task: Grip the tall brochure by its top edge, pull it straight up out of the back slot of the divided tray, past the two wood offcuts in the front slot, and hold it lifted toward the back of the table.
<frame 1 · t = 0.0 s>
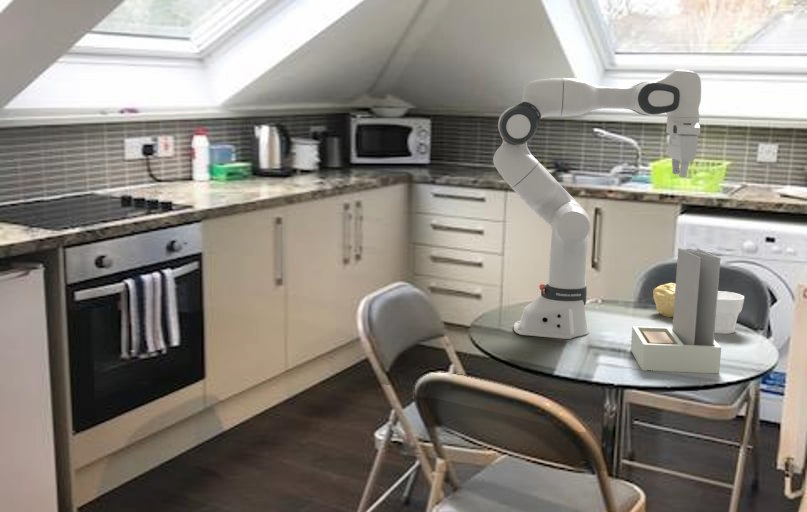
hand: (679, 175, 252), 48 cm above the table, fingers open, 8 cm apart
yellow rounded lump: (672, 315, 284), on the table
divided tray: (673, 361, 234), on the table
brochure: (690, 362, 234), resting in divided tray
offcut top: (657, 349, 234), point 3 cm above the table, touching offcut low
cup: (720, 330, 267), on the table
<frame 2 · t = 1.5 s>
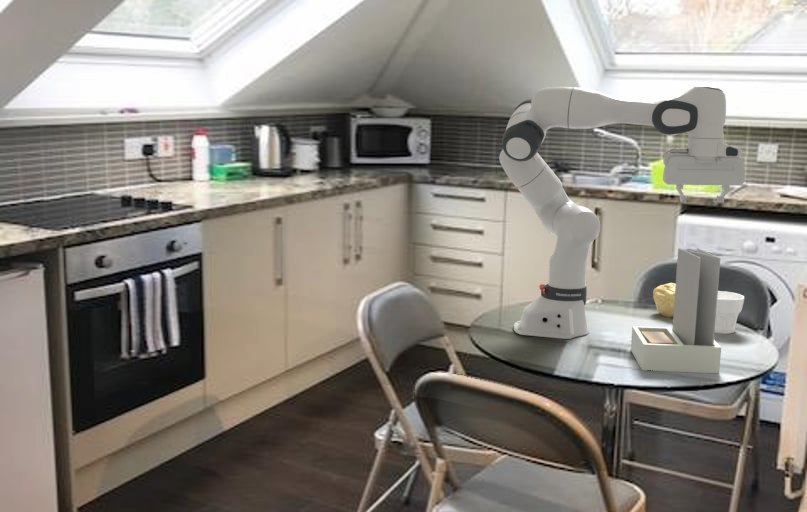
hand: (701, 202, 227), 43 cm above the table, fingers open, 8 cm apart
offcut top: (656, 349, 234), point 3 cm above the table
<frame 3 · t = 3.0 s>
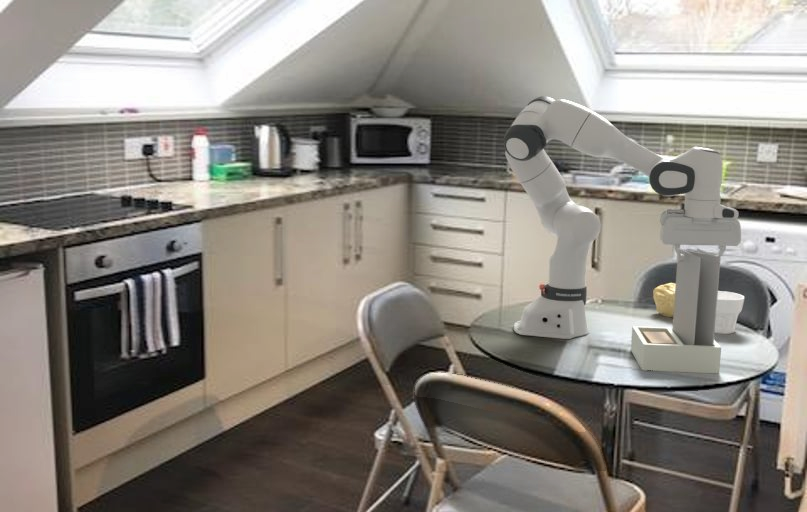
hand: (698, 261, 229), 28 cm above the table, fingers open, 8 cm apart
offcut top: (657, 349, 234), point 3 cm above the table, touching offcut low
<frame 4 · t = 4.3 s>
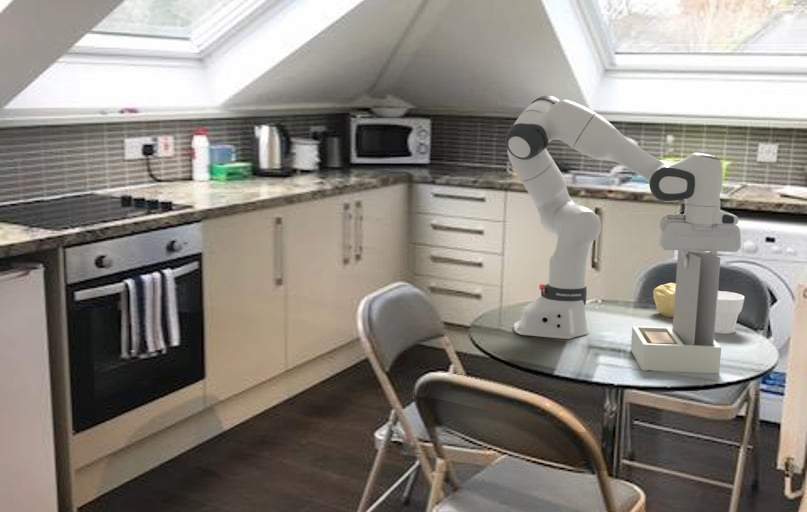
hand: (697, 267, 229), 26 cm above the table, fingers closed on brochure, 4 cm apart
brochure: (690, 362, 234), resting in divided tray, touching gripper
everything else where it was.
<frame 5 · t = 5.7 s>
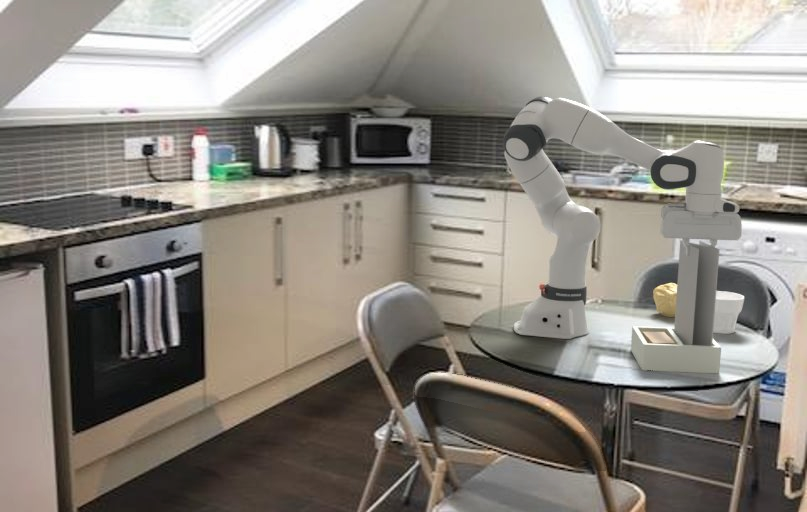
hand: (698, 255, 229), 29 cm above the table, fingers closed on brochure, 3 cm apart
brochure: (691, 355, 234), point 2 cm above the table, touching gripper
everything else where it was.
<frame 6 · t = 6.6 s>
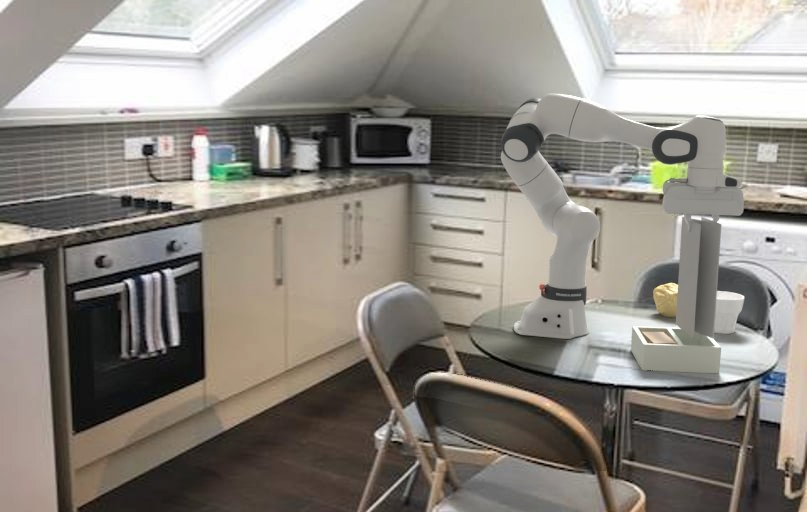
hand: (700, 231, 227), 36 cm above the table, fingers closed on brochure, 3 cm apart
brochure: (694, 331, 232), point 8 cm above the table, touching gripper
everything else where it was.
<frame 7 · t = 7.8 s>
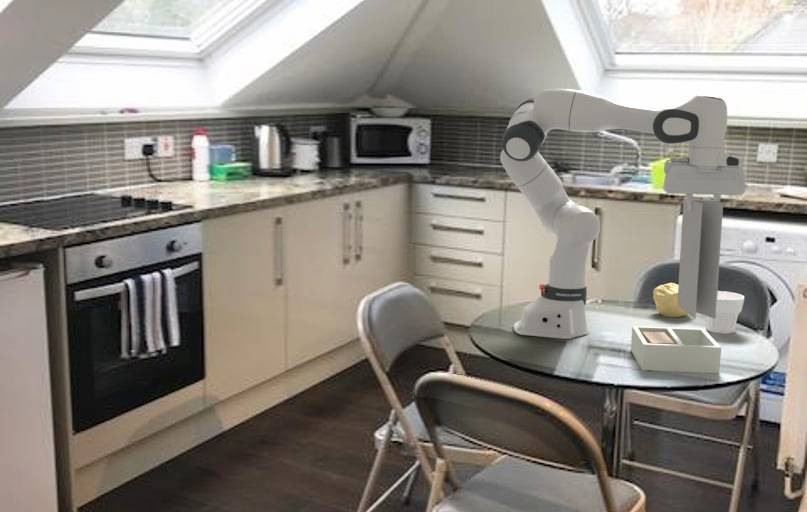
hand: (701, 211, 226), 41 cm above the table, fingers closed on brochure, 3 cm apart
brochure: (695, 312, 231), point 14 cm above the table, touching gripper
offcut top: (657, 349, 234), point 3 cm above the table
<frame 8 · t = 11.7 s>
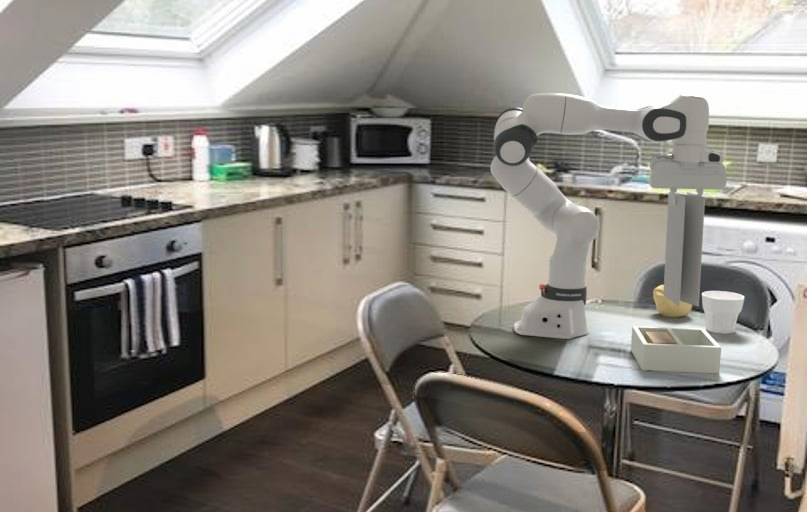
hand: (685, 205, 239), 41 cm above the table, fingers closed on brochure, 3 cm apart
brochure: (680, 301, 244), point 14 cm above the table, touching gripper
offcut top: (659, 349, 234), point 3 cm above the table, touching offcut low
at the end: the gripper is holding brochure; brochure point 13.7 cm above the table; offcut top moved 0.9 cm from its start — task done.
